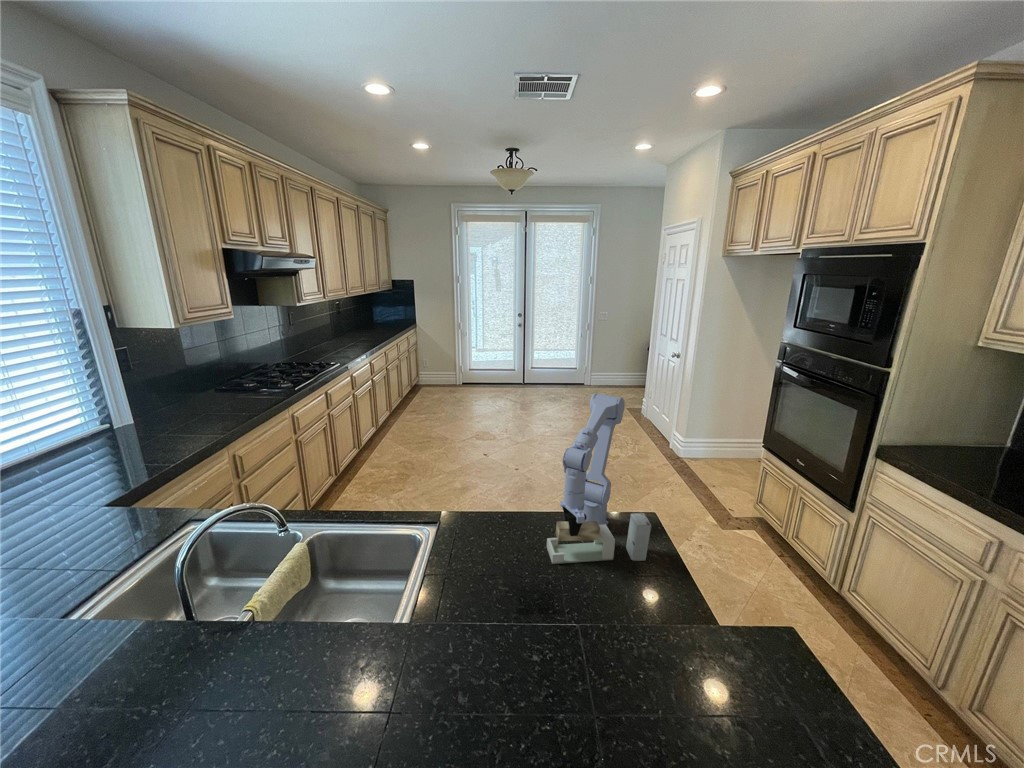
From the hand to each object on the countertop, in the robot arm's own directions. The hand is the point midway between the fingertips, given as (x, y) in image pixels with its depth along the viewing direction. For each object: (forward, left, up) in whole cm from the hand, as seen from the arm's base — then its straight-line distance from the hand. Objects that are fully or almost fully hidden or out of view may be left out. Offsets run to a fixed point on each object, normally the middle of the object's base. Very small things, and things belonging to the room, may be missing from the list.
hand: (571, 530), depth 116 cm
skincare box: (-12, +15, -8) cm, 21 cm away
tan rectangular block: (-1, +1, -2) cm, 3 cm away
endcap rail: (-2, +2, -8) cm, 8 cm away
